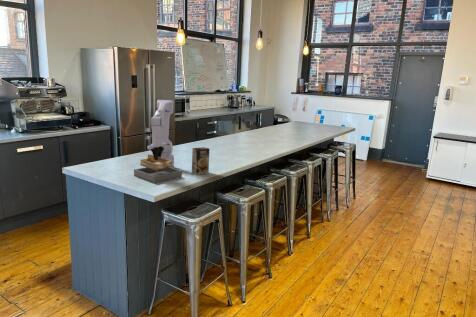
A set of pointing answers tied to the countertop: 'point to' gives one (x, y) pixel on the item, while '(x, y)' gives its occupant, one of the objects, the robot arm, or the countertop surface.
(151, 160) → the pine crate
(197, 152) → the coffee box
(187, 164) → the countertop surface
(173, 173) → the charcoal crate
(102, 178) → the countertop surface
